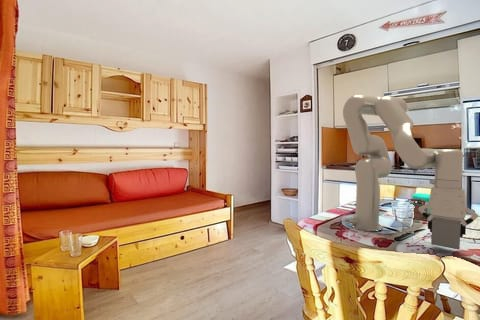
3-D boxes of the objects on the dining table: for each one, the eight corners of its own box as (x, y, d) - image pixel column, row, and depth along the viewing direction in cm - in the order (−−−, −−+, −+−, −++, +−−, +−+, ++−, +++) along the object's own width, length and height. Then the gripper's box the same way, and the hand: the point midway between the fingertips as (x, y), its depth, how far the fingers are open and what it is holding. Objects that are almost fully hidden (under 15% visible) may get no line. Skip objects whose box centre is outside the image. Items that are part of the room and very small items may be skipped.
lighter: (427, 218, 134) (428, 199, 133) (427, 220, 131) (428, 200, 130) (408, 216, 138) (409, 197, 138) (408, 217, 136) (409, 198, 135)
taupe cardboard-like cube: (459, 249, 88) (460, 224, 88) (431, 244, 93) (432, 219, 93) (459, 243, 94) (460, 219, 94) (432, 238, 99) (433, 215, 99)
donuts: (414, 195, 143) (410, 192, 152) (413, 213, 143) (410, 209, 153) (436, 197, 139) (432, 193, 148) (435, 215, 139) (430, 211, 148)
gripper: (416, 183, 95) (415, 231, 96) (482, 188, 84) (479, 242, 85) (419, 181, 101) (417, 226, 102) (480, 185, 90) (478, 236, 91)
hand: (445, 233), depth 93 cm, fingers closed on taupe cardboard-like cube, 7 cm apart
